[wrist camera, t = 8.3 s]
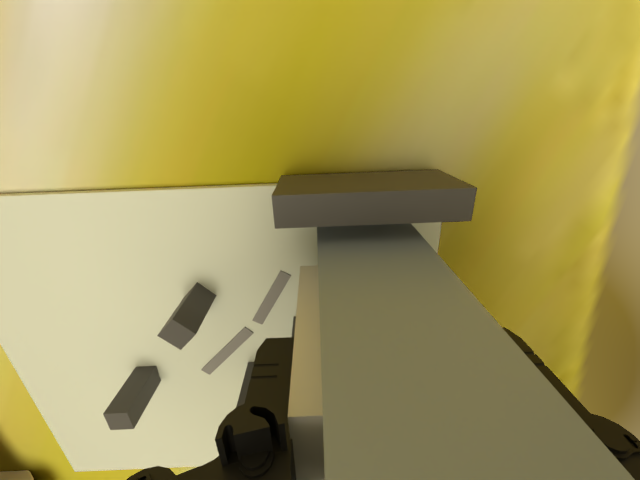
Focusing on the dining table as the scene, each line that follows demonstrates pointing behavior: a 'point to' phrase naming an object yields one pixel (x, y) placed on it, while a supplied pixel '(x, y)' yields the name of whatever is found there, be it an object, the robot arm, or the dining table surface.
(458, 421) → the block
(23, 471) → the cable
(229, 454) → the robot arm
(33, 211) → the routing panel
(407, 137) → the dining table surface
